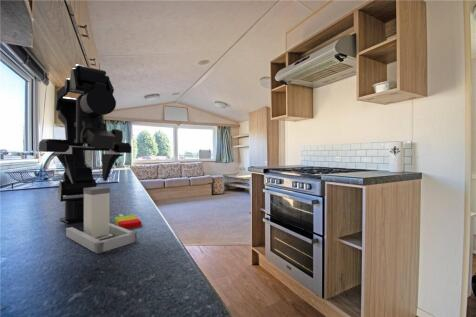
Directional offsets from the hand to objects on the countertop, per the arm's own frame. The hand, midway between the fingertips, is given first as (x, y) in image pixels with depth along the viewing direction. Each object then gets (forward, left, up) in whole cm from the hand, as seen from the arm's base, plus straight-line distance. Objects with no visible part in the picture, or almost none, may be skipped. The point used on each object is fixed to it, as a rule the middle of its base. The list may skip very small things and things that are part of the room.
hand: (89, 181), depth 58 cm
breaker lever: (+4, 0, -12) cm, 13 cm away
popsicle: (-3, +11, -14) cm, 18 cm away
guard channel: (+6, 0, -13) cm, 14 cm away
